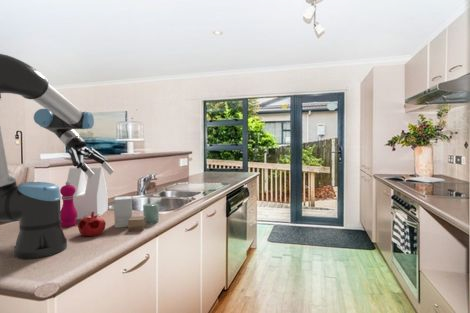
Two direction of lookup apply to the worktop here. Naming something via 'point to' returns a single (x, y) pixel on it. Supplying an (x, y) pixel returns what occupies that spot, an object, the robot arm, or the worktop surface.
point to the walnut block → (137, 223)
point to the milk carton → (89, 192)
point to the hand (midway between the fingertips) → (102, 174)
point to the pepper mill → (68, 206)
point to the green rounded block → (151, 212)
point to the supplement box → (122, 211)
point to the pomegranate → (91, 225)
